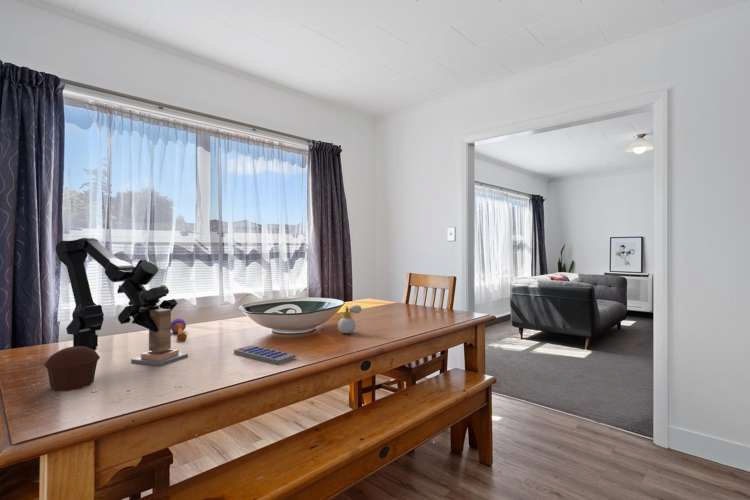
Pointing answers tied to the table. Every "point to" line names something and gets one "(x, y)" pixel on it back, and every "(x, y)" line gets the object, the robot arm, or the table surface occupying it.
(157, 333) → the walnut post
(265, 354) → the remote control
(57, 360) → the muffin
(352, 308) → the perfume bottle
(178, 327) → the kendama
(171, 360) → the baseplate
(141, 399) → the table surface
